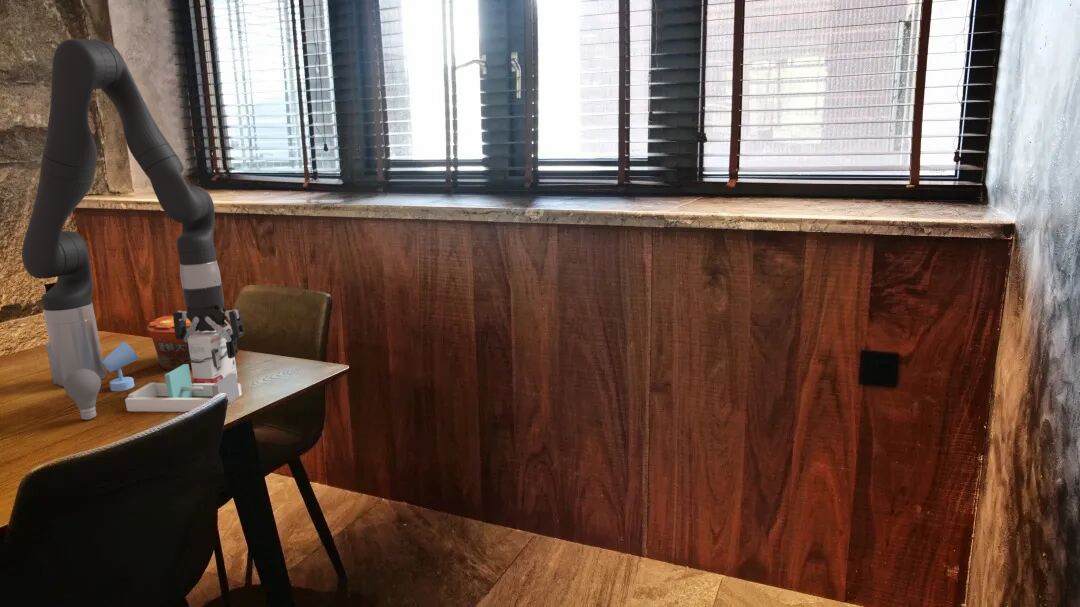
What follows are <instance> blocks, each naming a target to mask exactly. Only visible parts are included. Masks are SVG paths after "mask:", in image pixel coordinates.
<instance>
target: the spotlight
mask: <svg viewBox="0 0 1080 607" xmlns="http://www.w3.org/2000/svg"><path fill="white" fill-rule="evenodd" d="M139 359H140V357H139V356H138V354H137V353H136V351H135V350H134V349H133V348H132V347H131V346H130V345H129V344H128V343H127V342H126V341H124V340H123V341H121V342H120V343H119V344H118V345H117V346H116V348H114V349H113V350H112V351H111V352H110V353H109V354H107V356H106V357H105V358H103V361H102V364H103V365H104V368H105V370H107V371H108V372H109V373H113V372H115V371H117V375H118V377H117V378H114V379H112V380H110V381H109V387H110V391H112V392H122V391H127V390H131V389H132V388H134V387H135V381H134V378H133V377H131V376H124V374H123V372H122V368H123V367H125V366H127V365H129V364H132V363H134V362H135V361H137V360H139Z"/></svg>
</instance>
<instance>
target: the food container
mask: <svg viewBox="0 0 1080 607" xmlns="http://www.w3.org/2000/svg"><path fill="white" fill-rule="evenodd" d="M190 325H191V322H190V321H189V319H188V318H187V320H186V326H187V330H188V329H189V327H190ZM146 332H148V333H150V335H151V339H152V342H153V346H154V348H155V352H156V354H157V359H158V362H159V364H160V367H161V368H162V369H164V370H167V371H173V370H174V369H176V368H178V367H180V366H182V365H183V364H189V370H192V366H191V359H190V356H189V355H188V353H187V347H186V342H185V341H184V340H181V339H179V340H178V339H176V337H175V328H174V320H173V314H172V315H169V316H168V315H164V316H161V317H158V318H154V319H153V321H150V322H149V324H148V325H147V326H146ZM199 332H200V331H199Z"/></svg>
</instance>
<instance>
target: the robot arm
mask: <svg viewBox="0 0 1080 607" xmlns="http://www.w3.org/2000/svg"><path fill="white" fill-rule="evenodd" d="M94 90H102V92H103V93H104V94H105V95H106V96H107V97H108V98H109V100H110V101H111V102H112V104H113V105H114V107H115V109H116V110H117V113H118V116H119V118H120V121H121V125H122V130H123V136H124V139H125V142H126V145H127V147H128V149H129V152H130V153H131V155H132V157H133V158H134V160H135V161H136V163H137V164H138V166H139V167H140V168H141V169H142V171H143V173H144V174H145V175H146V177H147V178H148V179H149V182H150V183H151V186H152V189H153V191H154V194H155V196H156V198H157V200H158V203H159V205H160V207H161V208H162V210H163V212H164V214H166V215H167V217H169V218H170V219H171V220H172V221H174V222H176V223H179V224H181V226H182V227H181V229H182V230H181V234H180V235H179V236H178V238H177V241H176V248H177V255H178V256H177V257H178V262H179V271H180V272H179V276H180V282H181V288H182V294H183V299H184V305H185V307H186V310H183V309H180V310H177V311H176V312H173V313H172V315H173V320H174V328H175V337H176V339H178V340H179V339H181V340H184V341H185V342H186V347H187V353H188V355H189V356H190V352H189V345H188V339H187V338H189V336H190V335H193V334H195V333H198V332H199V331H200V332H203V331H216V332H217V333H218V334H220V335H222V336H223V337H224V338H225V339H226V341H227V342H226V348H227V354H228V358H234V357H235V358H236V357H237V355H238V352H239V350H238V345H237V342H238V341H237V340H238V339H239V338H241V337H243V336H244V335H245V328H244V324H243V318H242V314H241V309H239V308H235V309H232V310H231V309H230V310H227V309H226V308H225V297H224V291H223V285H222V284H223V282H222V277H221V272H220V268H219V264H218V260H217V254H216V247H215V242H214V234H215V233H214V232H215V219H216V218H215V216H216V215H215V214H216V213H215V205H214V202H213V198H212V196H211V195H210V193H209V192H208V190H206V189H205V188H203V187H200V186H197V185H196V186H194V185H193V186H189V185H188V184H187V183H186V182H187V181H186V180H185V177H183V174H182V173H183V172H184V165H183V163H182V160H181V159H180V158H179V156H178V155H177V153H176V151H174V149H173V147H172V146H171V145H170V143H169V142H168V140H167V138H166V136H164V134H163V132H162V131H161V129H160V128H159V127H158V125H157V123H156V120H154V118H153V115H152V114H151V111H150V110H149V108H148V106H147V104H146V102H145V100H144V98H143V96H142V94H141V91H140V89H139V88H138V86H137V83H136V81H135V80H134V77H133V75H132V73H131V71H130V69H129V67H128V65H127V63H126V61H125V60H124V58H123V56H122V55H121V52H119V50H118V49H117V48H116V47H115V45H113V44H111V43H110V42H108V41H105V40H103V39H102V40H101V39H97V38H96V39H95V38H94V39H93V38H92V39H89V38H88V39H87V38H70V39H65V40H63V41H62V42H60V44H58V45H57V47H56V49H55V51H54V55H53V59H52V67H51V91H50V92H51V93H50V107H49V114H48V115H49V116H48V121H47V122H48V123H47V129H46V130H47V131H46V137H45V142H44V146H43V151H42V158H41V164H40V173H39V179H38V185H37V189H36V190H37V191H36V194H35V199H34V204H33V209H32V213H31V216H30V220H29V223H28V226H27V229H26V232H25V236H24V239H23V243H22V247H21V259H22V264H23V267H24V269H25V271H26V272H27V273H28V275H30V276H31V277H32V278H35V279H40V280H42V279H43V280H44V279H52V278H56V277H57V280H56V282H55V284H54V285H53V286H52V287H51V288H50V289H49V290H48V291H47V292H45V293H44V294H43V295H42V296H41V298H40V302H41V308H42V312H43V316H44V322H45V328H46V332H47V337H48V341H47V342H46V343H45V349H46V354H47V358H48V363H49V368H50V369H49V370H50V374H51V378H52V383H53V385H58V386H59V387H63V388H64V382H65V379H66V378H67V376H68V375H69V374H70V373H71V372H73V371H75V370H78V369H89V370H92V371H94V372H95V373H96V374H97V375H98V376H99V377H100V380H101V381H102V380H104V379H105V378H106V376H107V374H106V368H105V367H104V365H103V364H102V361H103V360H104V358H103V353H102V347H101V342H100V337H99V331H98V326H97V320H96V316H95V311H94V310H95V309H94V304H93V298H92V295H93V289H94V283H93V276H92V268H91V260H90V253H89V249H88V246H87V244H86V242H85V241H84V239H83V237H82V236H81V235H80V234H78V233H77V232H75V231H71V230H64V226H65V224H66V223H67V222H66V221H67V220H68V218H69V216H70V215H71V214H72V213H73V211H74V210H75V209H76V208H77V207H78V205H79V204H80V203H81V202H82V200H84V198H85V196H86V195H87V194H88V193H89V191H90V189H91V188H92V185H93V183H94V180H95V174H96V168H97V165H98V163H97V162H98V157H99V156H98V149H97V148H98V147H97V144H96V142H95V138H94V136H93V133H92V130H91V128H90V125H89V108H90V103H91V98H92V95H93V91H94ZM63 230H64V231H63ZM187 318H188V319H189V321H190V322H191V325H190V327H189V329H188V330H187V326H186V320H187ZM226 319H227V320H228V321H229V322H230V323H229V322H228V321H227V320H226Z"/></svg>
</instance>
